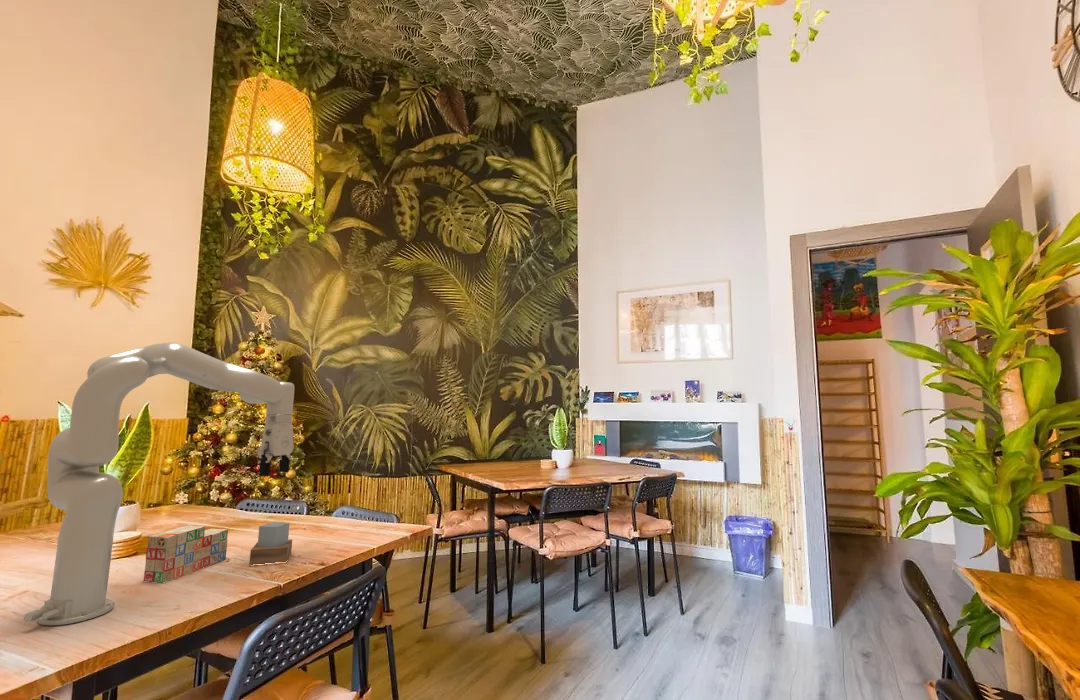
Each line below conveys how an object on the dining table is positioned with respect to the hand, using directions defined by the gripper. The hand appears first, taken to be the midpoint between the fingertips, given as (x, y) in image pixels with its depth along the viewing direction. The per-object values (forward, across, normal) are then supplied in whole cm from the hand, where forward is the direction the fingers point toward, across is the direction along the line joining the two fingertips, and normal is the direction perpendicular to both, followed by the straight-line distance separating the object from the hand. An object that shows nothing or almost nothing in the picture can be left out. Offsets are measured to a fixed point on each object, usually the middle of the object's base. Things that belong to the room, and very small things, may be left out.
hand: (274, 473), depth 153 cm
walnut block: (+27, 0, -1) cm, 27 cm away
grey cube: (+22, +1, -1) cm, 22 cm away
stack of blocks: (+27, -12, +17) cm, 34 cm away
